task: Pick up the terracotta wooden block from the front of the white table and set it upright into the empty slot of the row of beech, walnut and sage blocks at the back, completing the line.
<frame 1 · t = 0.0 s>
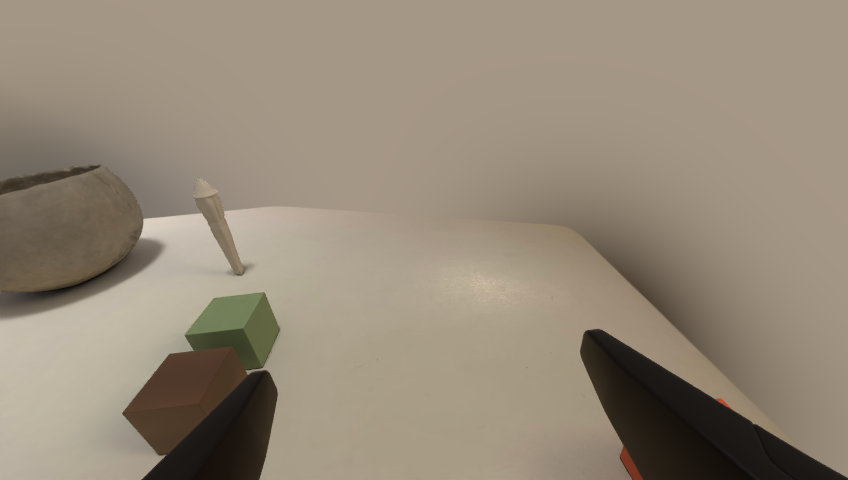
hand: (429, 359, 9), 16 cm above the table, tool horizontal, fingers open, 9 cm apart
bowl: (83, 275, 48), on the table
sage block: (246, 350, 32), on the table
walnut block: (210, 418, 25), on the table
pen: (241, 274, 45), on the table
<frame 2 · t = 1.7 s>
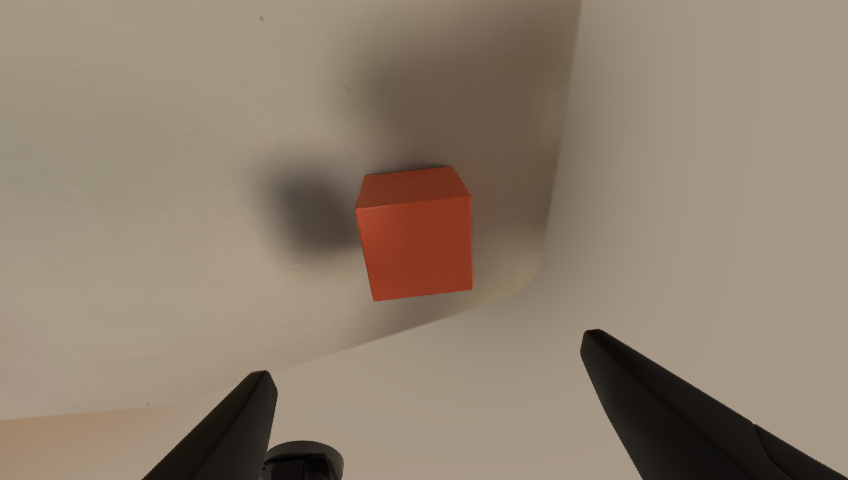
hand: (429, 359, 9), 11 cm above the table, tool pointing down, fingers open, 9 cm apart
terracotta block: (413, 211, 19), on the table
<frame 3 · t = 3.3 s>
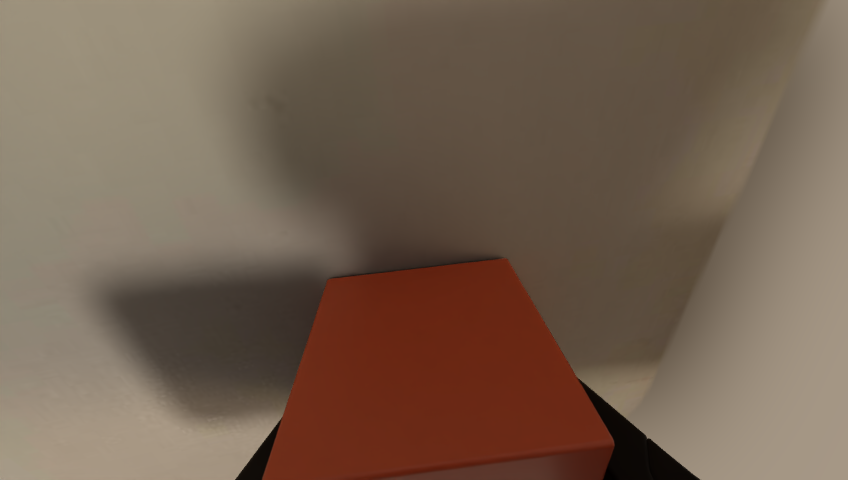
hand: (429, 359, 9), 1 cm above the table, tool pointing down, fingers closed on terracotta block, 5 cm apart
terracotta block: (425, 333, 10), on the table, touching gripper
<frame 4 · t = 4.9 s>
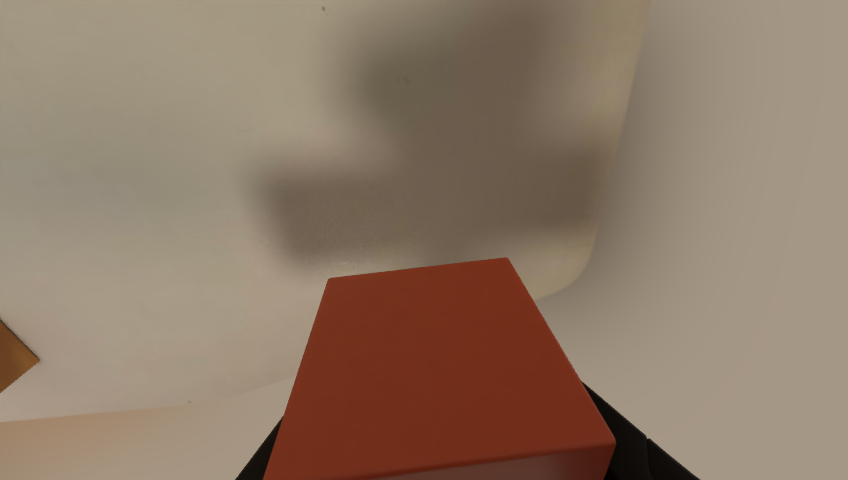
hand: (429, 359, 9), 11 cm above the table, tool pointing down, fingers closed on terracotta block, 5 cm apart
terracotta block: (426, 333, 10), point 10 cm above the table, touching gripper
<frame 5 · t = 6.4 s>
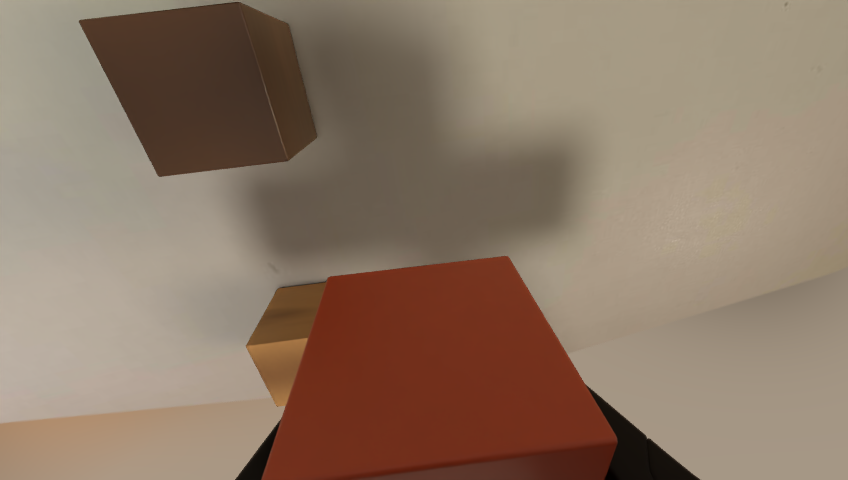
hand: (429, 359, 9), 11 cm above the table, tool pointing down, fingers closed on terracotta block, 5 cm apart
terracotta block: (426, 331, 10), point 10 cm above the table, touching gripper
walnut block: (252, 91, 15), on the table
beech block: (325, 312, 22), on the table
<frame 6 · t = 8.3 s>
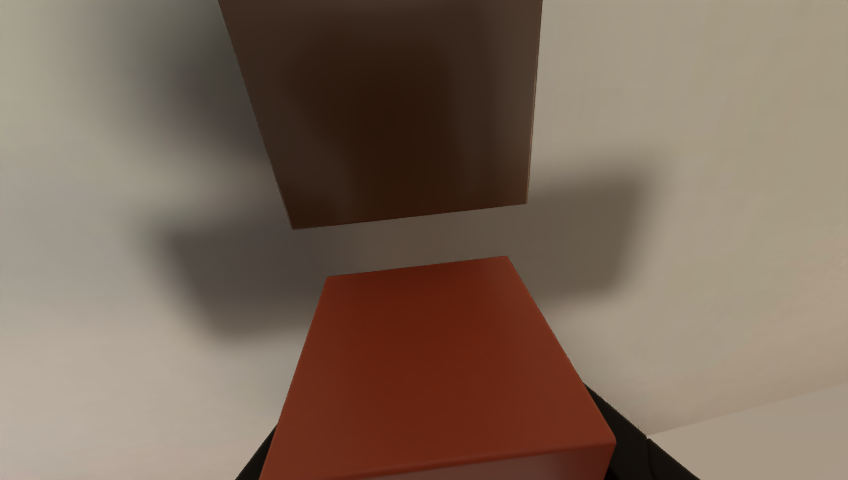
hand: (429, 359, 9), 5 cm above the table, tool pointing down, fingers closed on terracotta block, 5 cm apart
terracotta block: (425, 331, 10), point 4 cm above the table, touching gripper
walnut block: (395, 78, 10), on the table
when the fingers open (1 cm above the table, at t = 9.7 s): terracotta block stays where it is, on the table.
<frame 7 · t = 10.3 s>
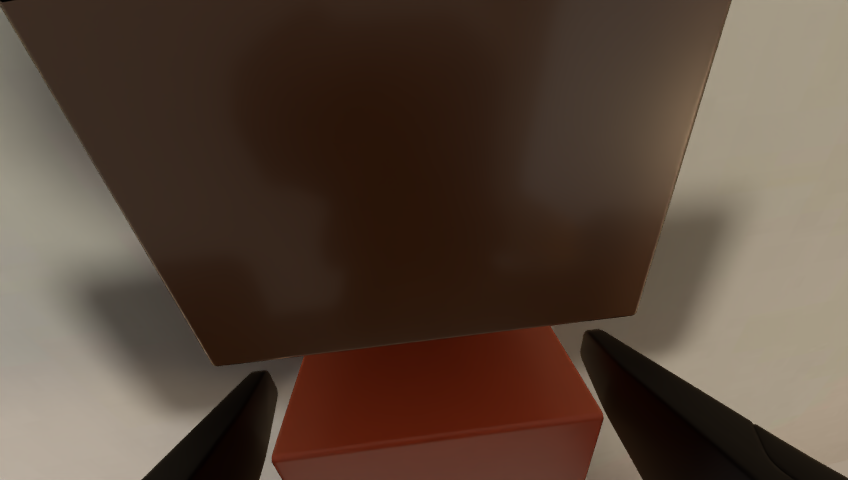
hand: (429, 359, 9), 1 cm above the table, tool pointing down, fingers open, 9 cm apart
terracotta block: (426, 324, 10), on the table
walnut block: (398, 86, 7), on the table
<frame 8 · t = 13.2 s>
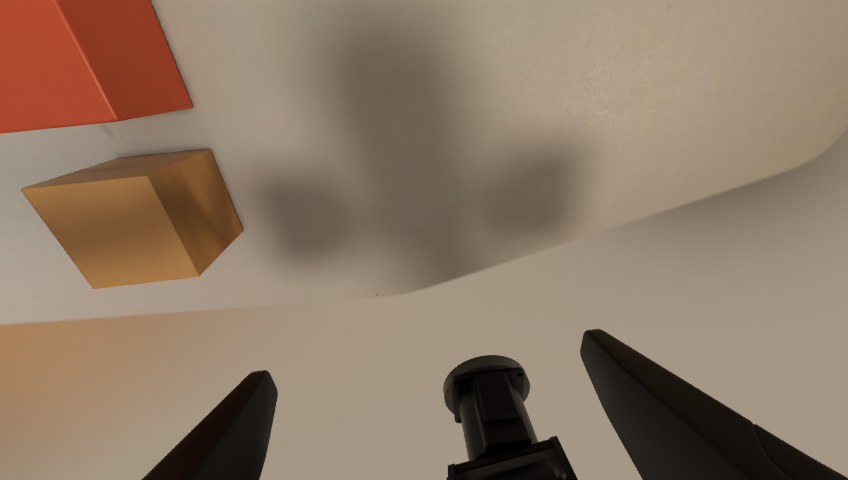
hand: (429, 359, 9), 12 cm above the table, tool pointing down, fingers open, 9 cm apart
terracotta block: (117, 56, 15), on the table
beech block: (184, 196, 18), on the table
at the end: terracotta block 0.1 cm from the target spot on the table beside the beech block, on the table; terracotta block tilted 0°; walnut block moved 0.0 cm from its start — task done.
